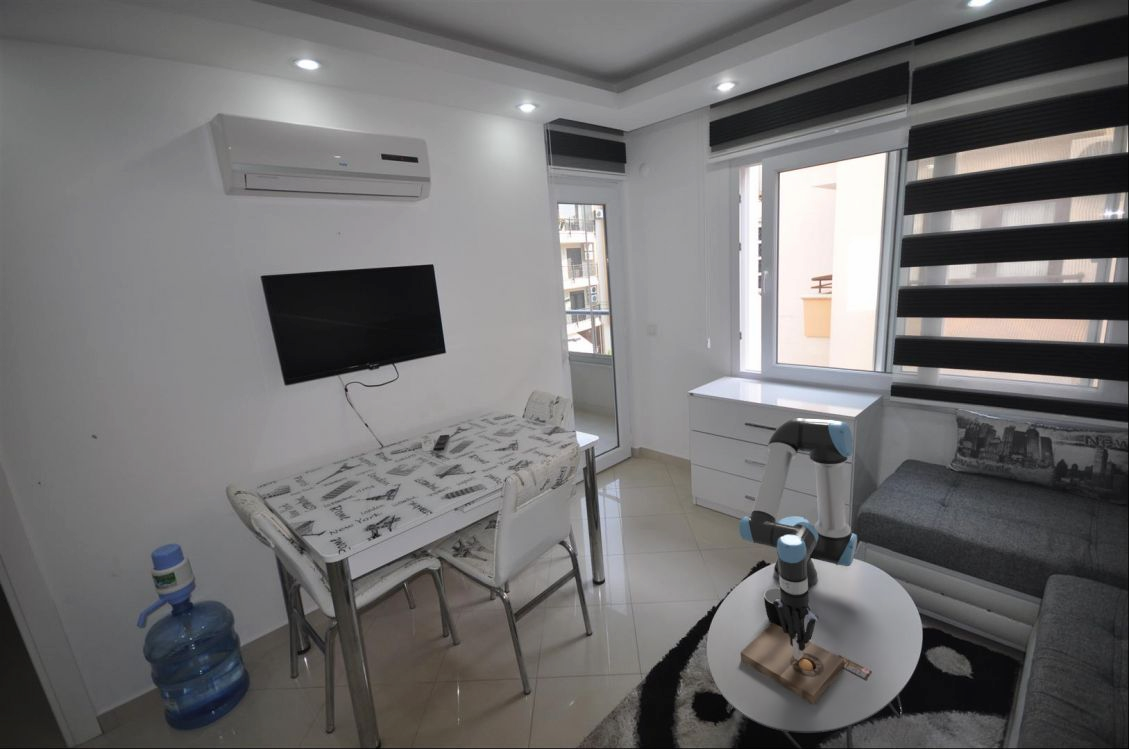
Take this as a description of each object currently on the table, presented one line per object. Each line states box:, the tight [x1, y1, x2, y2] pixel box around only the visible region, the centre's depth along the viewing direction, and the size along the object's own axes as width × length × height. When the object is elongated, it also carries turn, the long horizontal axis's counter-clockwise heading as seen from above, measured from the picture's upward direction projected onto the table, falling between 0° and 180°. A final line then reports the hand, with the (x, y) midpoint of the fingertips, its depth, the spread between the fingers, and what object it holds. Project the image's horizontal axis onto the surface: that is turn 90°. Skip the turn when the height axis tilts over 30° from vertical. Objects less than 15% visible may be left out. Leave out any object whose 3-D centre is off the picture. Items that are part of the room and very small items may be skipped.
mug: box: [763, 587, 782, 627], centre depth 169 cm, size 12×9×10 cm
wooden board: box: [740, 623, 845, 706], centre depth 152 cm, size 23×18×3 cm
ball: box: [798, 659, 814, 671], centre depth 148 cm, size 4×4×4 cm
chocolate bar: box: [838, 655, 872, 682], centre depth 148 cm, size 11×5×1 cm, turn 37°
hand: (798, 656), depth 149 cm, fingers closed
